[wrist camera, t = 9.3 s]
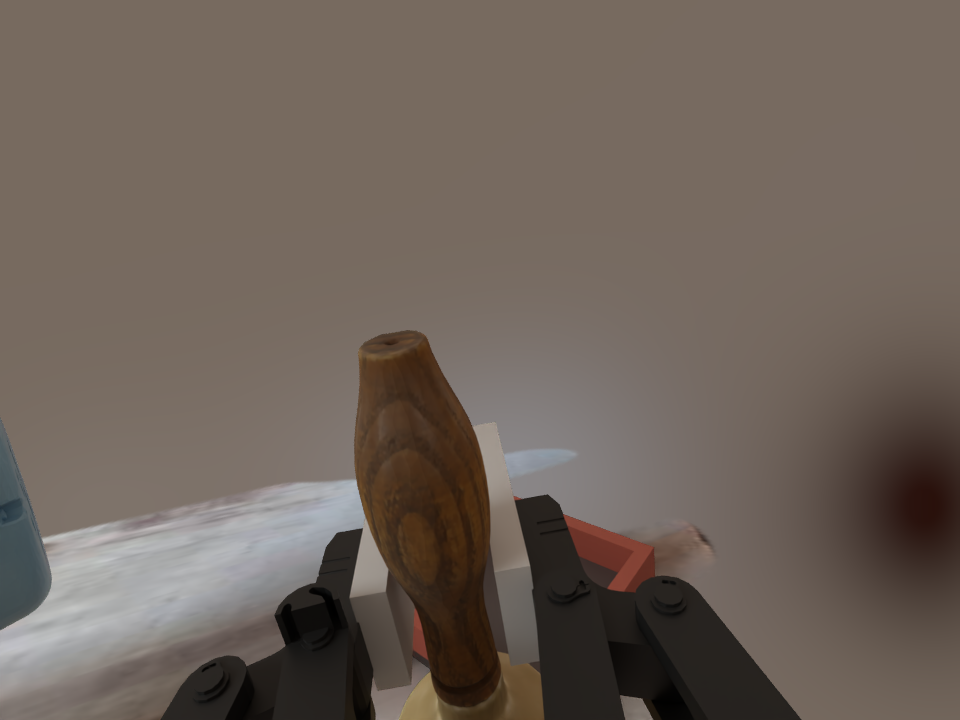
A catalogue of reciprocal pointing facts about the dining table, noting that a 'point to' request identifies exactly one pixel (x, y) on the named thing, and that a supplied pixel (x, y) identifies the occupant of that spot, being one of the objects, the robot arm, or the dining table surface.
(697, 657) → the robot arm
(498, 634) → the tray
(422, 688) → the hand bell
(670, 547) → the dining table surface
